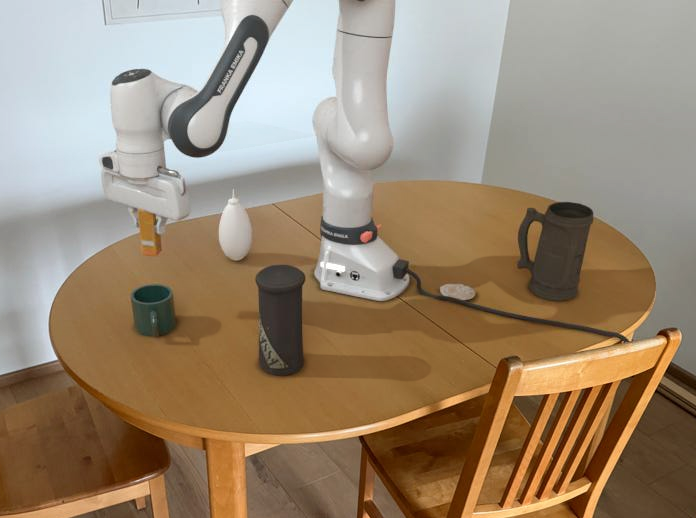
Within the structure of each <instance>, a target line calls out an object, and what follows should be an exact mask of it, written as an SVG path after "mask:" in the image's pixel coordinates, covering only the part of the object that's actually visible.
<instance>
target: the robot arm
mask: <svg viewBox="0 0 696 518" xmlns="http://www.w3.org/2000/svg"><path fill="white" fill-rule="evenodd" d="M293 2H294V0H221V1H220V13H221V18H222V21H223V25H224V33H225V35H224V42H223V46H222V49H221V52H220V54H219V56H218V58H217V60H216V61H215V63H214V65H213V66H212V69H211V70H210V72H209V74H208V75H207V77H206V79H205V81H204V83H203V84H202V86H201V87H200V89H199V90H197V89H195V88H194V87H193V86H190V85H187V84H183V83H178V82H175V81H174V82H173V81H171V80H168V79H166V78H163V77H161V76H160V75H157V74H156V73H155V72H153V71H152V70H150V69H148V68H134V69H133V68H132V69H129V70H126V71H123V72H121V73H119V74H118V75H116V76H115V77H114V78H113V80H112V81H111V84H110V90H109V91H110V93H109V99H110V112H111V121H112V126H113V128H114V131H115V135H116V142H115V150H111V151H109V152H106V153H104V154H102V155H100V156H99V157H98V162H99V165H100V167H101V171H100V177H101V184H102V185H101V186H102V189H103V193H104V196H105V197H106V199H107V200H109V201H111V202H114V203H118V204H120V205H124V206H127V211H128V212H129V214H130V216H131V217H132V219H133V224H134V228H135V227H136V228H139V218H138V209H141V210H143V211H147V212H150V213H153V214H155V215H156V219H158V222H157V224H155V225H153V228H154V233H157V234H160V235H161V236H162V235H164V234H165V233H166V223H167V221H168V219H169V220H172V221H176V222H179V221H182V220H184V219H186V218H188V217H189V216H190V214H191V212H192V208H191V200H190V196H189V192H188V191H189V190H188V187H187V185H186V180H185V178H184V177H183V176H182V175H181V174H180V172H179V171H178V170H174V169H169V168H167V162H166V161H167V160H166V152H165V142H166V141H168V140H171V142H172V143H173V145H174V147H175V148H176V149H177V150H178V151H179V152H180V153H181V154H183V155H184V156H187V157H189V158H197V159H199V158H206V157H208V156H211V155H213V154H214V153H216V152H217V151H218V150H219V149H220V148H221V147H222V145H223V143H224V142H225V140H226V137H227V134H228V130H229V125H230V119H231V117H232V114H233V111H234V109H235V107H236V105H237V102H238V101H239V99H240V97H241V95H242V94H243V92H244V90H245V88H246V86H247V85H248V83H249V81H250V80H251V77H252V75H253V74H254V72H255V70H256V68H257V66H258V65H259V62H260V61H261V59H262V56H263V54H264V53H265V50H266V48H267V46H268V44H269V41H270V39H271V37H272V36H273V33H274V32H275V30H276V29H277V27H278V25H279V24H280V22H281V21H282V19H283V18H284V16H285V14H286V13H287V11H288V10H289V8H290V7H291V5H292V4H293ZM395 18H396V0H338V17H337V24H336V32H335V40H334V41H335V42H334V47H333V48H334V50H333V58H332V66H331V72H332V77H333V80H334V81H333V82H334V87H335V95H336V96H329V97H327V98H324V99H323V100H321V101H320V102H319V103H318V104H317V106H316V107H315V109H314V111H313V115H312V121H311V122H312V127H313V130H314V134H315V137H316V143H317V149H318V150H317V151H318V158H319V164H320V169H321V178H322V215H321V217H320V226H319V233H320V239H321V240H320V249H319V253H318V258H317V263H316V266H315V268H314V271H313V274H314V277H315V279H316V280H317V281H318V282H319V287H320V289H321V290H324V291H327V292H332V293H338V294H341V295H347V296H352V297H357V298H362V299H366V300H371V301H377V302H387V301H389V300H392V299H394V298H396V297H397V296H399V295H401V294H402V293H403V292H404V291H405V290H406V289H407V288H408V287H409V284H410V276H411V277H412V278H414V279H415V281H416V289H417V291H418V292H419V293H420V294H421V295H422V296H424V297H429V298H432V299H437V300H441V301H448V302H449V301H450V302H453V303H456V304H460V305H463V306H467V307H470V308H473V309H476V310H480V311H484V312H487V313H492V314H495V315H499V316H504V317H509V318H512V319H518V320H523V321H526V322H527V321H528V322H533V323H538V324H545V325H551V326H557V327H563V328H568V329H573V330H579V331H585V332H590V333H595V334H597V335H598V334H599V335H603V336H608V337H613V338H617V339H619V340H621V341H622V342H623V343H624V344H625V342H630V340H629V339H628V338H627V337H626V336H624V335H623V334H621V333H618V332H614V331H608V330H603V329H599V328H595V327H590V326H586V325H581V324H580V325H579V324H574V323H567V322H561V321H557V320H550V319H544V318H539V317H534V316H533V317H532V316H528V315H522V314H517V313H513V312H508V311H503V310H499V309H496V308H495V309H494V308H491V307H488V306H483V305H479V304H476V303H473V302H470V301H468V300H460V299H457V298H453V297H448V296H443V295H437V294H436V295H435V294H431V293H428V292H427V291H425V290H424V289H423V288H422V282H421V278H420V277H419V275H418V274H416V272H414V271H412V270H411V269H409V267H410V266H409V265H410V261H409V260H405V259H400V258H399V255H398V254H397V253H396V252H395V251H394V250H393V249H392V248H391V247H390V246H389V245H388V244H387V243H386V242H385V241H384V240H383V239H382V238H381V237H380V236H379V233H378V231H380V230H381V229H382V225H383V223H379V224H378V225H376V224H375V221H374V218H373V203H374V202H373V201H374V181H373V178H372V176H371V172H370V171H374V170H376V169H378V168H381V167H382V166H383V165H384V164H385V163H386V162H387V161H388V160H389V159H390V157H391V155H392V153H393V150H394V137H393V134H392V131H391V128H390V123H389V111H388V92H387V91H388V90H387V79H388V71H389V62H390V57H391V56H390V54H391V48H392V41H393V35H394V28H395V20H396V19H395Z"/></svg>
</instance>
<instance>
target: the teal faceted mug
mask: <svg viewBox="0 0 696 518" xmlns="http://www.w3.org/2000/svg"><path fill="white" fill-rule="evenodd" d="M173 292H174V291H173V289H172V288H171V287H170V286H167V285H165V284H160V283H151V284H144V285H140V286H139V287H136V288H135V289H133V290H132V291H131V293H130V303H131V308H132V316H133V322H134V327H135V330H136V331H137V333H139V334H141V335H143V336H147V337H153V338H155V339H156V338H159V337H160V336H163V335H166V334H168V333H170V332H172V331H173V330H174V329H175V328H176V326H177V319H176V310H175V302H174V301H175V299H174V293H173Z"/></svg>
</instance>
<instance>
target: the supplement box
mask: <svg viewBox="0 0 696 518" xmlns="http://www.w3.org/2000/svg"><path fill="white" fill-rule="evenodd" d="M138 218H139V239H140V249H141V255H142V256H146V257H155V258H157V257H158V255H160V253H161V252H162V251H163V249H162V248H163V247H162V234H161V235H160V234H157V233H154V228H153V225H155V224H157V222H158V219H156V215H155V214H153V213H150V212H147V211H143V210H141V209H138Z"/></svg>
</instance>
